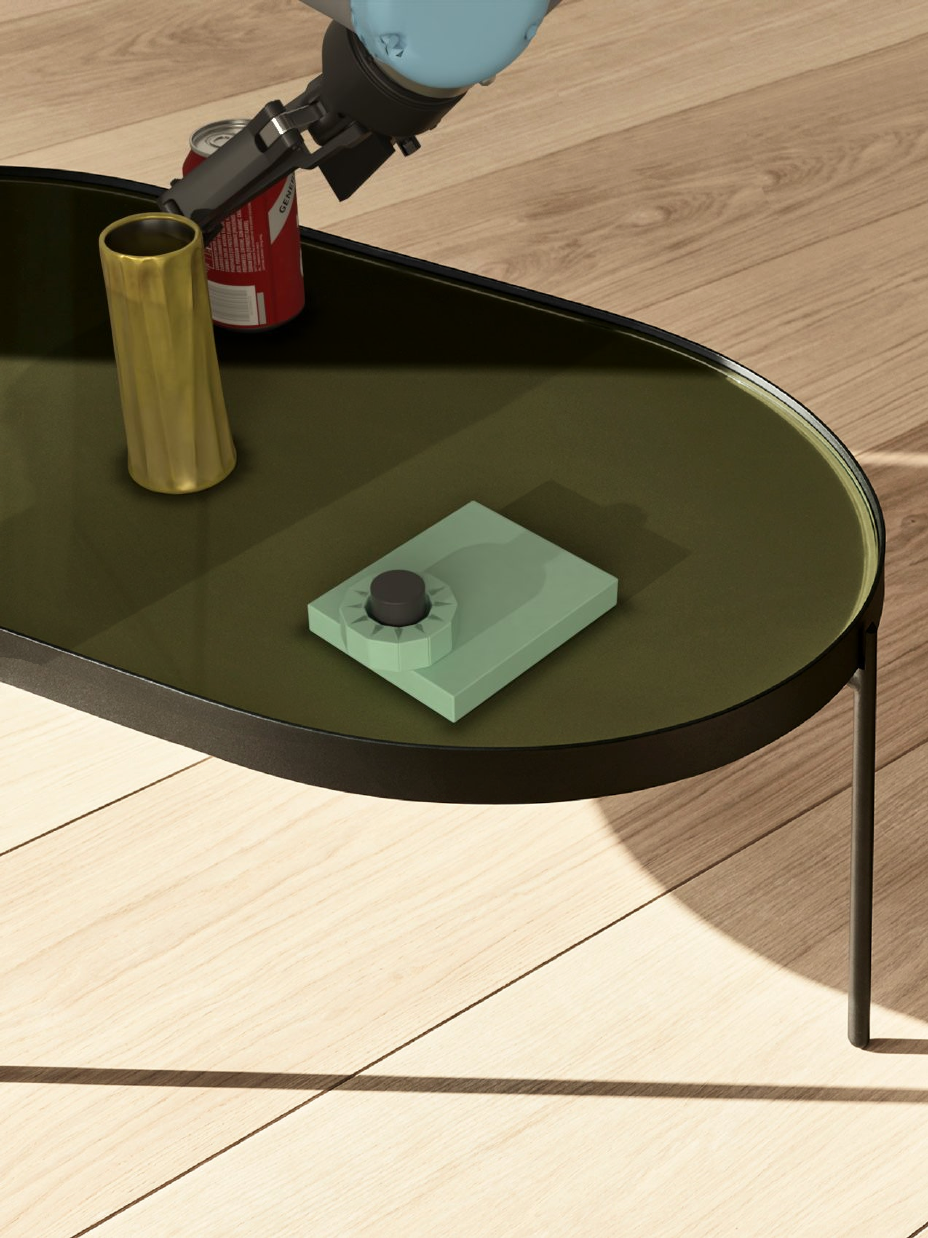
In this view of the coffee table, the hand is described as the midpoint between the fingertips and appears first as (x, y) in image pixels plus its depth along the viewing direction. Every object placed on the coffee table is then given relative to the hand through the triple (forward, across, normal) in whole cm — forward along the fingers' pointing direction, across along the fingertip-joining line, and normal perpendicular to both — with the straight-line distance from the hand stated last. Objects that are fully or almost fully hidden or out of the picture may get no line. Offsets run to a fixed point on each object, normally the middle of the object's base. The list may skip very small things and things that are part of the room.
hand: (251, 218), depth 103 cm
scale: (-17, -13, -26) cm, 34 cm away
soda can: (+6, 0, -4) cm, 7 cm away
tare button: (-19, -17, -24) cm, 35 cm away
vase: (-2, -14, -12) cm, 18 cm away
